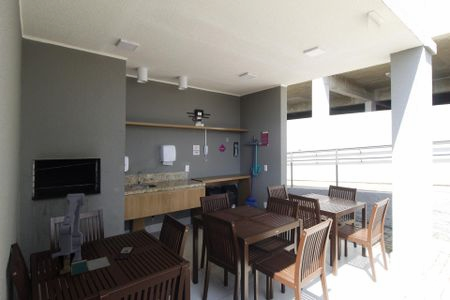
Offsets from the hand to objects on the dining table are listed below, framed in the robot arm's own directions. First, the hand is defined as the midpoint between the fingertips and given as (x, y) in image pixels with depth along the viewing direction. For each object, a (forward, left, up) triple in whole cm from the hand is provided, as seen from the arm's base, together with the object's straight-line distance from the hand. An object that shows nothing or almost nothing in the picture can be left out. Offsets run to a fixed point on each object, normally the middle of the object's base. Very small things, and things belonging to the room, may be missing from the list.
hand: (66, 266), depth 149 cm
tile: (+7, +6, -3) cm, 10 cm away
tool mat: (+1, +17, -3) cm, 17 cm away
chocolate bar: (-5, +35, -4) cm, 36 cm away
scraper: (0, 0, -3) cm, 3 cm away
